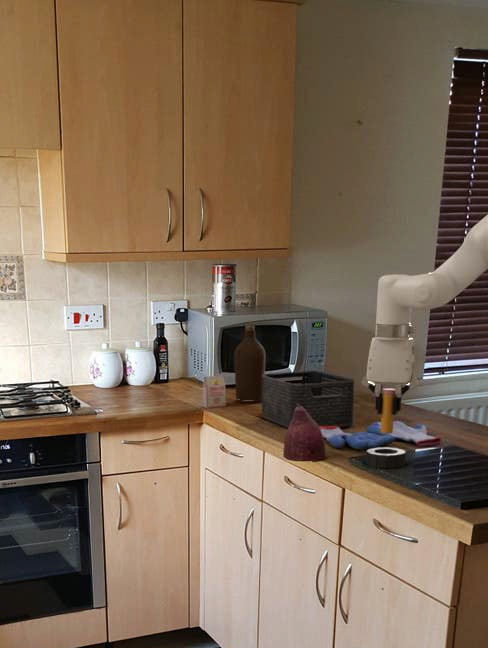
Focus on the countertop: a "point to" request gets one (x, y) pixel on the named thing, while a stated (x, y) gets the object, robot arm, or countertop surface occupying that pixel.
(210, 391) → the pink carton
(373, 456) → the tape
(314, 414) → the storage bin
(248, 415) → the countertop surface
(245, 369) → the brown bottle
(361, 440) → the pair of gloves
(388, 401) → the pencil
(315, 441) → the vegetable
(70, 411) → the countertop surface
